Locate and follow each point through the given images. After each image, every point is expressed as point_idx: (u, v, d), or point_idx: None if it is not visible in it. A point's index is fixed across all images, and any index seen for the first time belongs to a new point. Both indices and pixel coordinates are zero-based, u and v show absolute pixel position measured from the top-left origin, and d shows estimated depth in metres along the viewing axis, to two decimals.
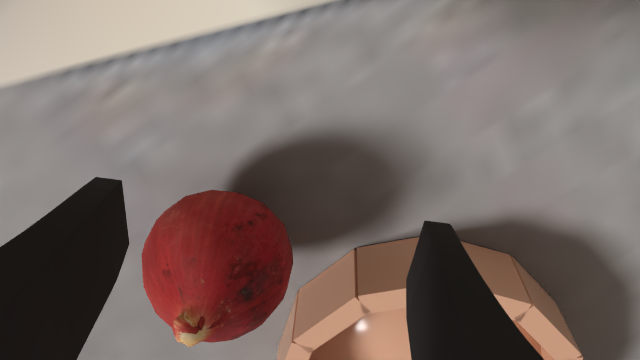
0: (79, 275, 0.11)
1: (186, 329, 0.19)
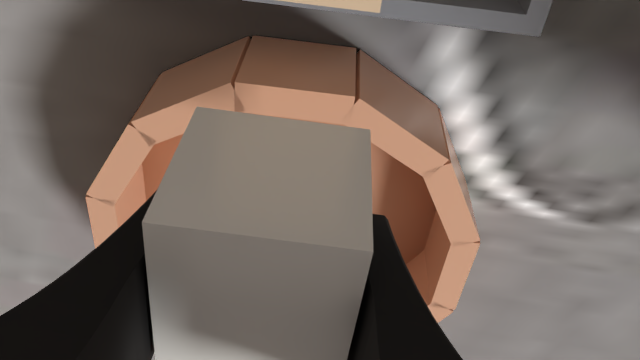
0: None
1: None
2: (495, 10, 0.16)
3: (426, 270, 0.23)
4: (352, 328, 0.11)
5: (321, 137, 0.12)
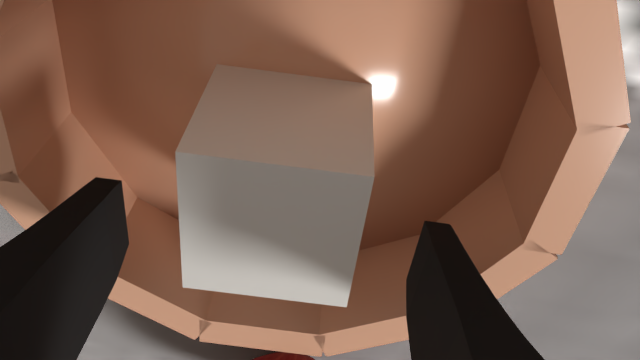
0: (79, 276, 0.11)
1: None
2: None
3: (507, 197, 0.15)
4: (356, 251, 0.12)
5: (328, 89, 0.14)
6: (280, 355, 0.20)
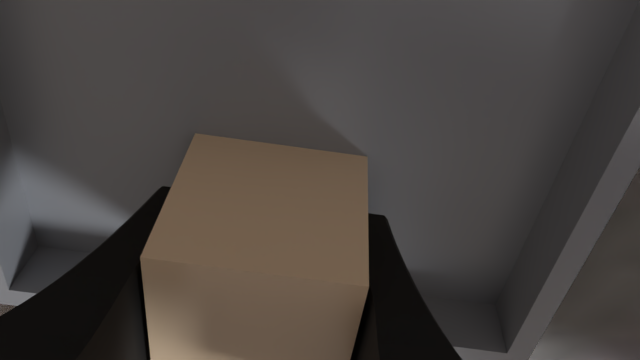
0: None
1: None
2: (472, 347, 0.14)
3: None
4: None
5: None
6: None
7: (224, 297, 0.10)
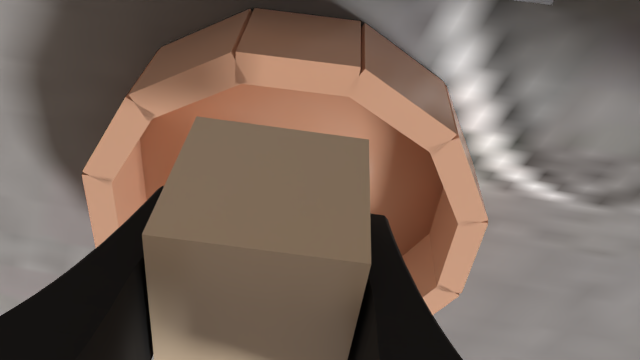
0: None
1: None
2: None
3: (431, 253, 0.23)
4: None
5: None
6: None
7: (226, 275, 0.10)
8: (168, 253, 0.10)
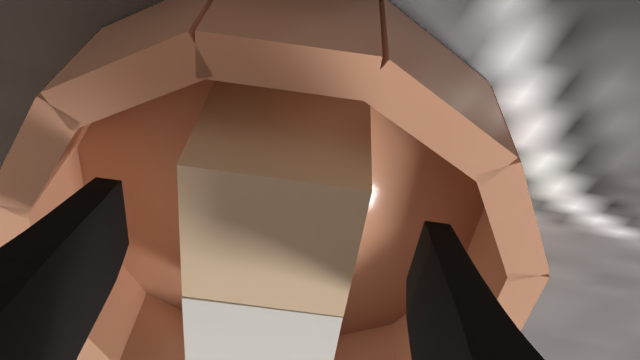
0: (79, 276, 0.11)
1: None
2: None
3: None
4: None
5: None
6: None
7: (247, 203, 0.12)
8: (198, 182, 0.12)
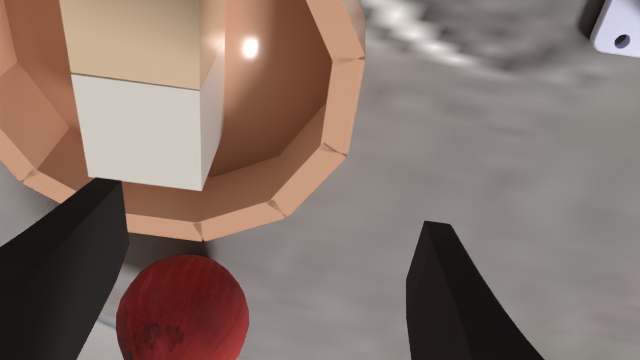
0: (79, 276, 0.11)
1: None
2: None
3: (322, 119, 0.21)
4: (199, 146, 0.19)
5: None
6: (185, 255, 0.26)
7: None
8: None
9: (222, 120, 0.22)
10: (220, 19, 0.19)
